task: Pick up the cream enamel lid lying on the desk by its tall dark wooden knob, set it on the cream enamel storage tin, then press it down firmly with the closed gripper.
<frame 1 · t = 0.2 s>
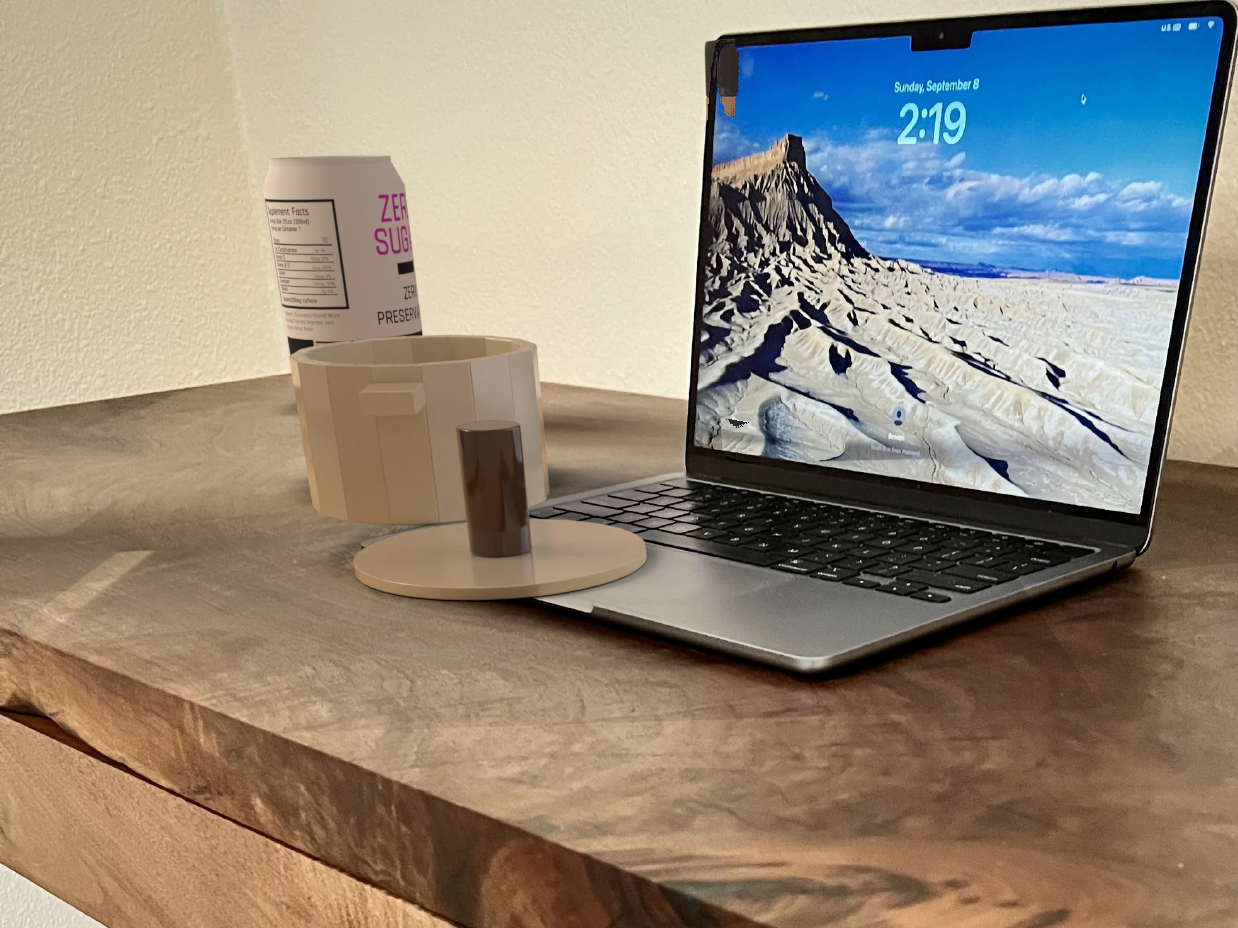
travel mug: (783, 456, 92), on the table
lid: (502, 562, 68), point 1 cm above the table
supplement can: (368, 429, 103), on the table
pot: (434, 509, 80), on the table
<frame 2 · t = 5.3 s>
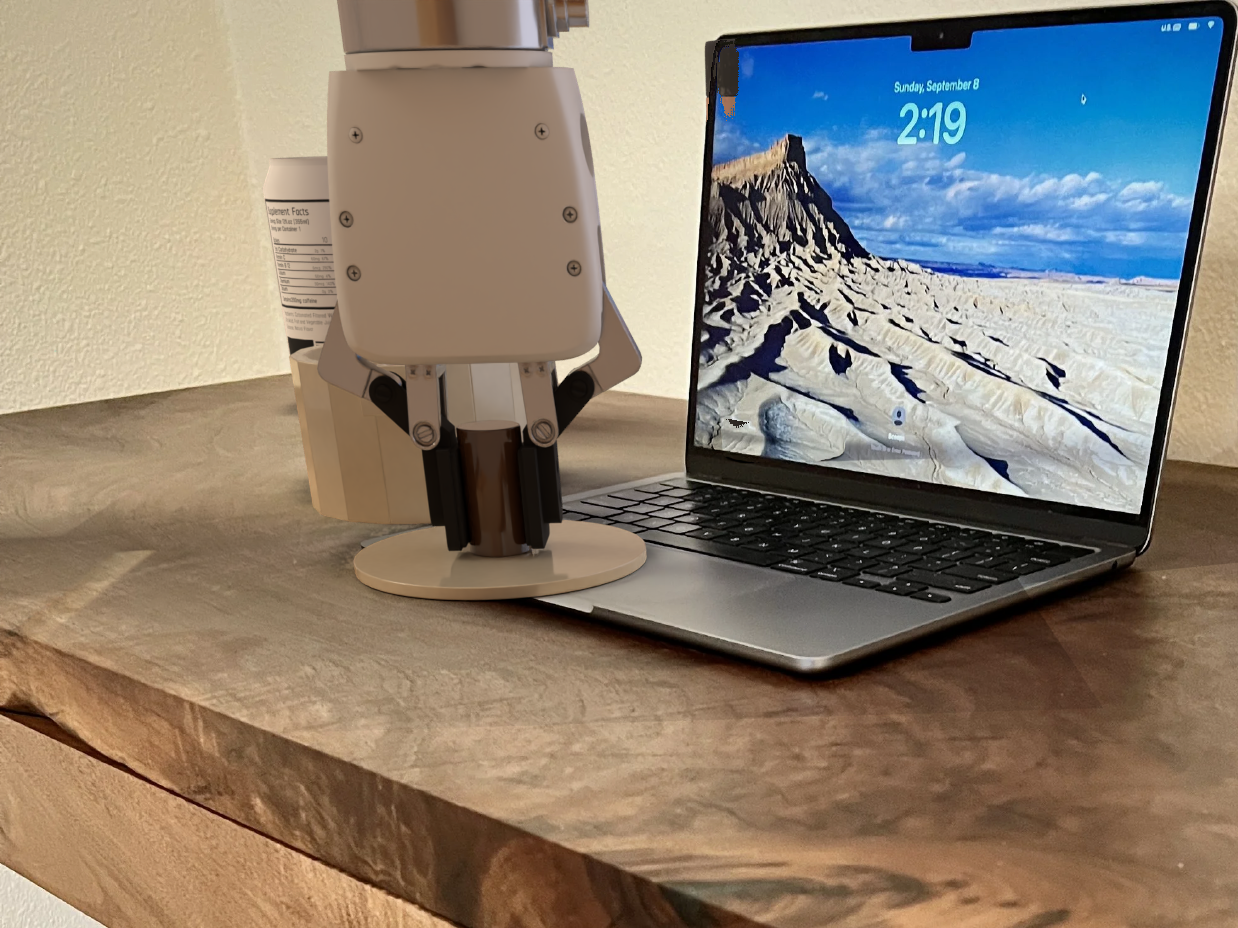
hand: (499, 538, 68), 2 cm above the table, tool pointing down, fingers closed on lid, 2 cm apart
lid: (502, 562, 68), point 1 cm above the table, touching gripper
everything else where it was.
when the fingers open (8 cm above the table, at t = 11.2 s): lid stays where it is, resting on pot.
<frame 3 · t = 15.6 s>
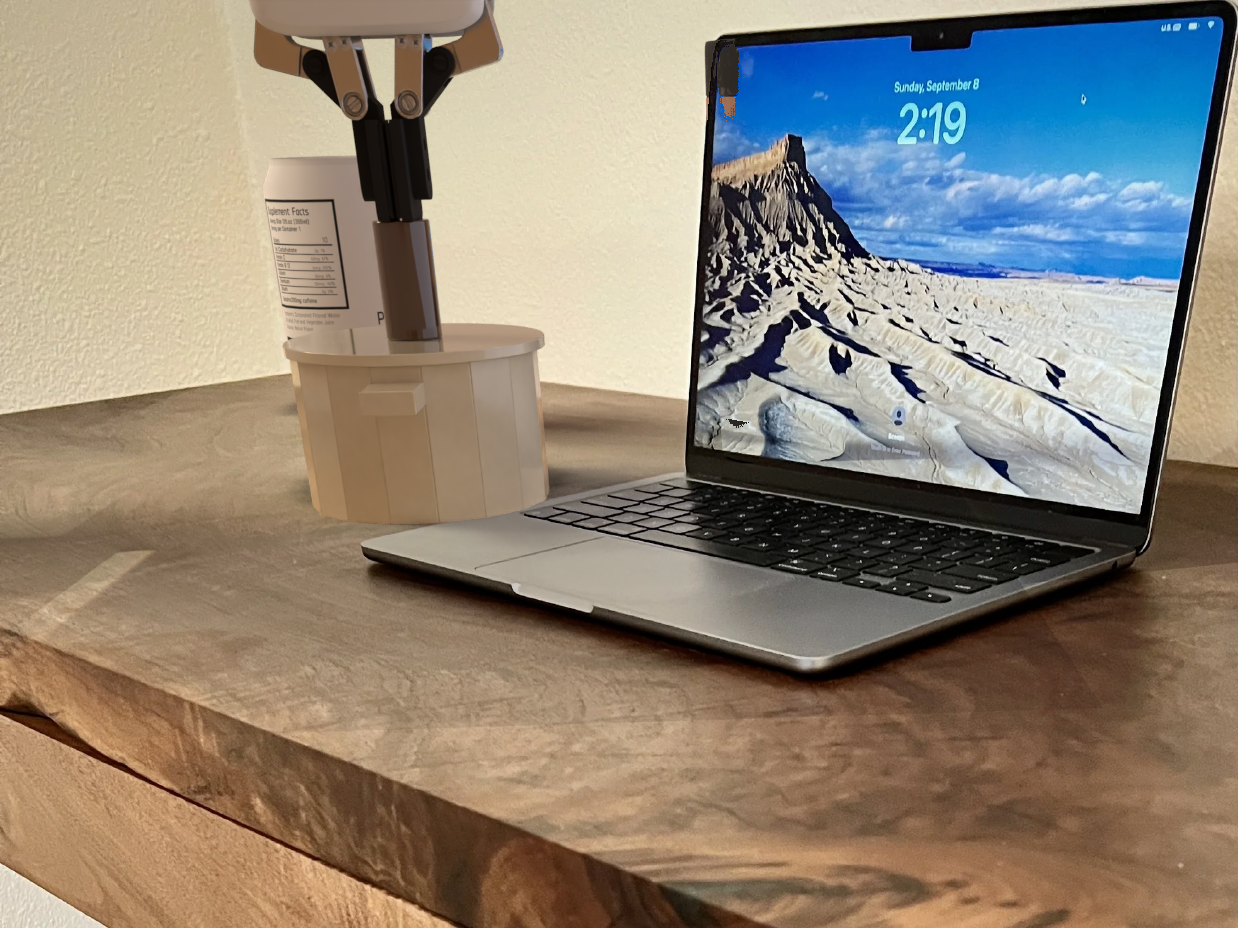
hand: (401, 218, 74), 13 cm above the table, tool pointing down, fingers closed
lid: (416, 349, 77), point 7 cm above the table, touching gripper, pot
everything else where it was.
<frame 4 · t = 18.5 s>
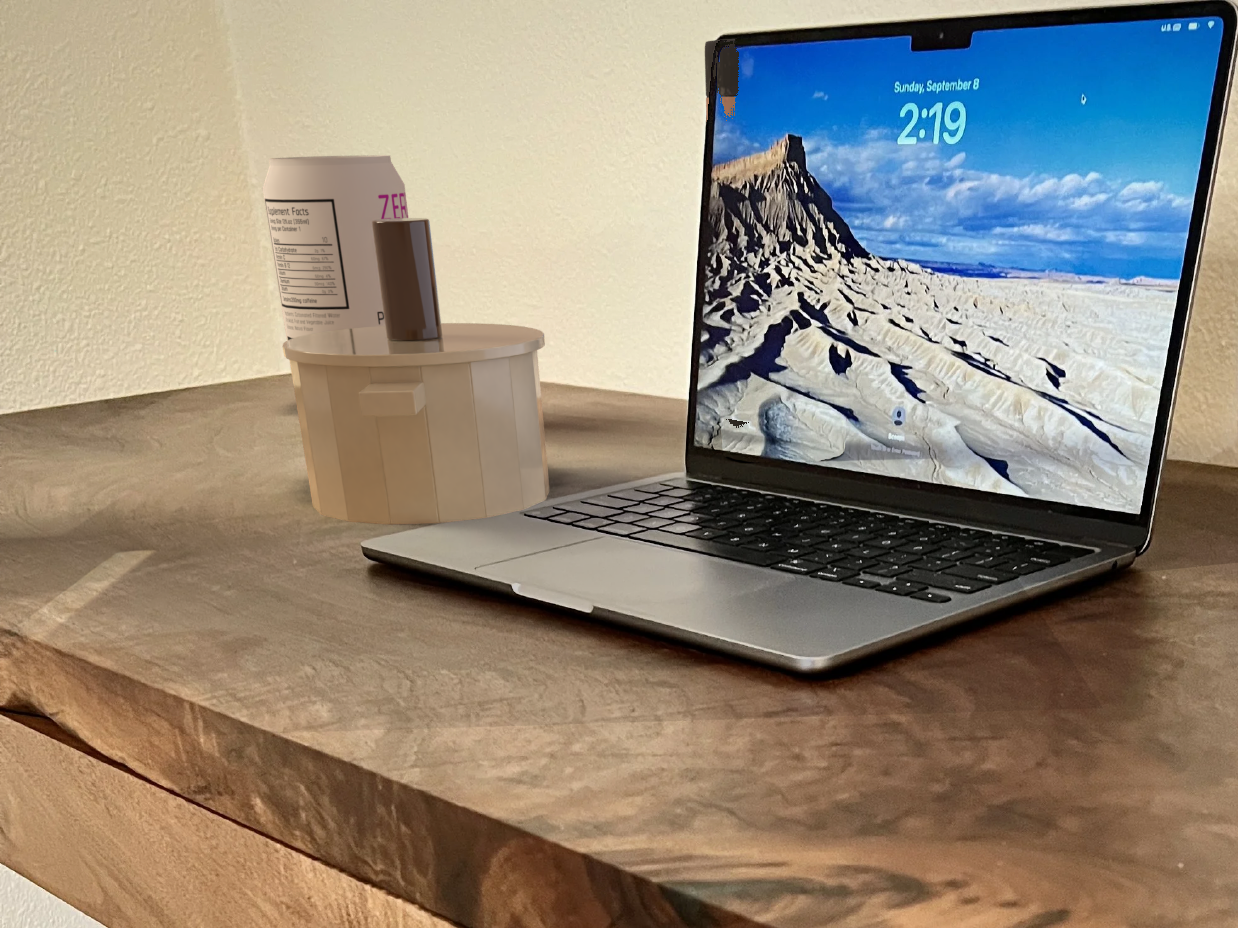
lid: (416, 349, 77), point 7 cm above the table, touching pot
everything else where it was.
at the end: lid 0.1 cm off-centre on the pot, point 7.4 cm above the pot's base; lid tilted 0°; lid moved 16.3 cm from its start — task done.
